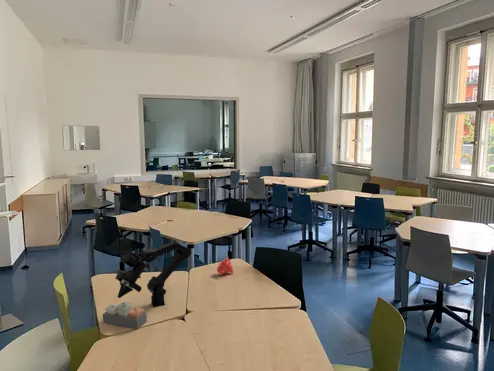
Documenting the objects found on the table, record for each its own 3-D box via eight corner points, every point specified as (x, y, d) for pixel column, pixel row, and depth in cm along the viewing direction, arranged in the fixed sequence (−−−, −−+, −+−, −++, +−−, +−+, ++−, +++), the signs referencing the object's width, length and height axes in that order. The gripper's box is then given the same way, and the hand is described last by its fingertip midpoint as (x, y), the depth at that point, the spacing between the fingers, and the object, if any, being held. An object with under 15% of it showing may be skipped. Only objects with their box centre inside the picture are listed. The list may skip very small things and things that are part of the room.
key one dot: (112, 316, 198) (111, 303, 197) (121, 318, 197) (120, 305, 196) (105, 321, 193) (104, 308, 192) (114, 323, 191) (113, 309, 190)
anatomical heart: (216, 277, 255) (213, 260, 256) (228, 272, 265) (225, 256, 265) (225, 277, 250) (222, 260, 250) (237, 272, 259) (234, 255, 259)
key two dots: (123, 314, 196) (122, 301, 195) (132, 316, 194) (131, 303, 193) (116, 319, 191) (115, 306, 190) (126, 321, 189) (125, 307, 188)
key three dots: (135, 320, 194) (134, 307, 193) (144, 321, 192) (143, 308, 191) (128, 325, 189) (127, 312, 188) (138, 327, 187) (137, 313, 186)
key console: (113, 316, 200) (112, 307, 199) (146, 321, 193) (146, 312, 192) (103, 323, 192) (102, 314, 192) (137, 329, 186) (136, 319, 185)
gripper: (117, 260, 204) (99, 285, 197) (134, 268, 191) (115, 295, 184) (131, 270, 210) (114, 295, 204) (149, 278, 197) (131, 305, 191)
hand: (118, 297), depth 196 cm, fingers closed
